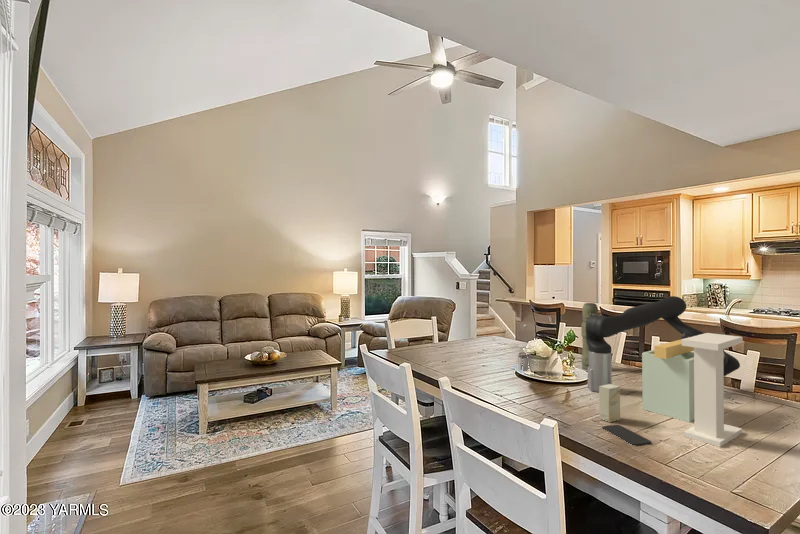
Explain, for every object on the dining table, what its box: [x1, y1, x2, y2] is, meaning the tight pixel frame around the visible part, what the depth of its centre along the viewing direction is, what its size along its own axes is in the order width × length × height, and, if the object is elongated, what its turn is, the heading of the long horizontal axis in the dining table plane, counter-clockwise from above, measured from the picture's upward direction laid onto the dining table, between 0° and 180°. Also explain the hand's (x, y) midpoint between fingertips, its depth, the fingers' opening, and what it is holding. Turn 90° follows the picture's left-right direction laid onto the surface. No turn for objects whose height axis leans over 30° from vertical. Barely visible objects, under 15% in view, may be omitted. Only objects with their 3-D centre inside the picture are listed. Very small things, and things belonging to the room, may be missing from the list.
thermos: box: [580, 302, 599, 371], centre depth 221 cm, size 9×12×35 cm
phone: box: [601, 424, 652, 446], centre depth 137 cm, size 7×1×15 cm
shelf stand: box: [682, 332, 744, 448], centre depth 136 cm, size 20×10×32 cm, turn 123°
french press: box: [517, 324, 529, 371], centre depth 215 cm, size 10×12×25 cm
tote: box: [641, 349, 695, 423], centre depth 158 cm, size 16×16×22 cm
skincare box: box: [598, 384, 621, 423], centre depth 151 cm, size 6×4×12 cm
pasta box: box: [653, 338, 694, 359], centre depth 159 cm, size 28×4×4 cm, turn 123°
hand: (695, 336), depth 167 cm, fingers open, 8 cm apart
